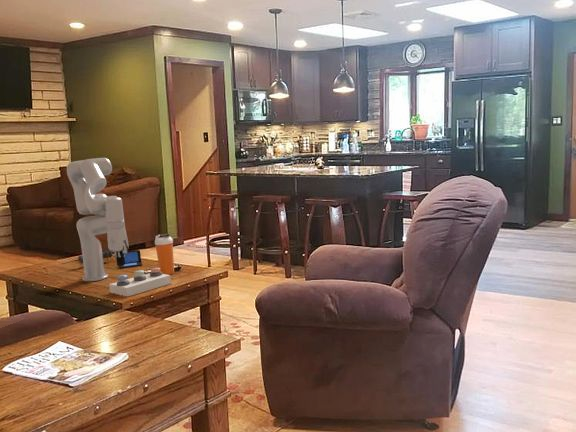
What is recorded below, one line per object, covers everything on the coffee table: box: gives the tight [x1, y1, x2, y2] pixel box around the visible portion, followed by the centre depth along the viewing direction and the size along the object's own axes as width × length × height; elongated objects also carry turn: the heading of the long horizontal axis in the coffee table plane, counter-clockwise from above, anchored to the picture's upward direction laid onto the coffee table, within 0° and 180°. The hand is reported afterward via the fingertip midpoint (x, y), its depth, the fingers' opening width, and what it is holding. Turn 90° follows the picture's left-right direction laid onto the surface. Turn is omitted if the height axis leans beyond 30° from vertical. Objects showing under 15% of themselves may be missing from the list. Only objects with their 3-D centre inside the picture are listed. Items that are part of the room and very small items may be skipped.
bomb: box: [60, 247, 116, 268], centre depth 339 cm, size 11×10×30 cm
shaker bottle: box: [154, 233, 175, 276], centre depth 305 cm, size 9×9×20 cm
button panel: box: [108, 271, 172, 297], centre depth 281 cm, size 14×24×5 cm, turn 138°
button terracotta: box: [150, 267, 160, 273], centre depth 287 cm, size 4×4×2 cm
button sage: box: [134, 269, 145, 277], centre depth 280 cm, size 4×4×2 cm
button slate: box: [117, 274, 129, 282], centre depth 274 cm, size 4×4×2 cm
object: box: [117, 249, 143, 270], centre depth 332 cm, size 12×11×7 cm
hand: (121, 265), depth 273 cm, fingers closed
